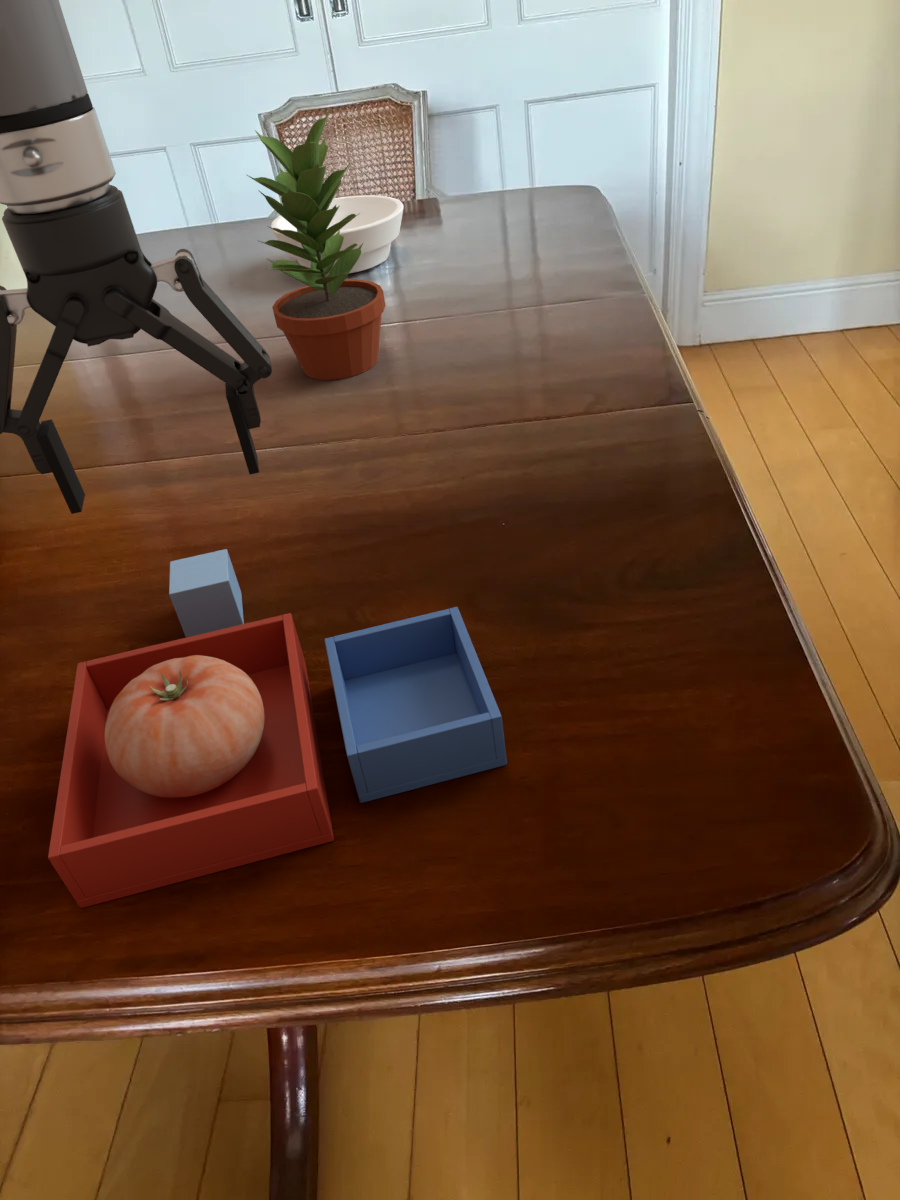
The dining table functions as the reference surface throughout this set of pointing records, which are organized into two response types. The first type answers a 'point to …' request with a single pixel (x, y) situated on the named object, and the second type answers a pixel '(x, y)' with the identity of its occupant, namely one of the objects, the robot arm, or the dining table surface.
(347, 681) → the blue bin
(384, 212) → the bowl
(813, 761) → the dining table surface
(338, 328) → the potted plant
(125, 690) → the tomato
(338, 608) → the dining table surface
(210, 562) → the blue block
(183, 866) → the red bin
